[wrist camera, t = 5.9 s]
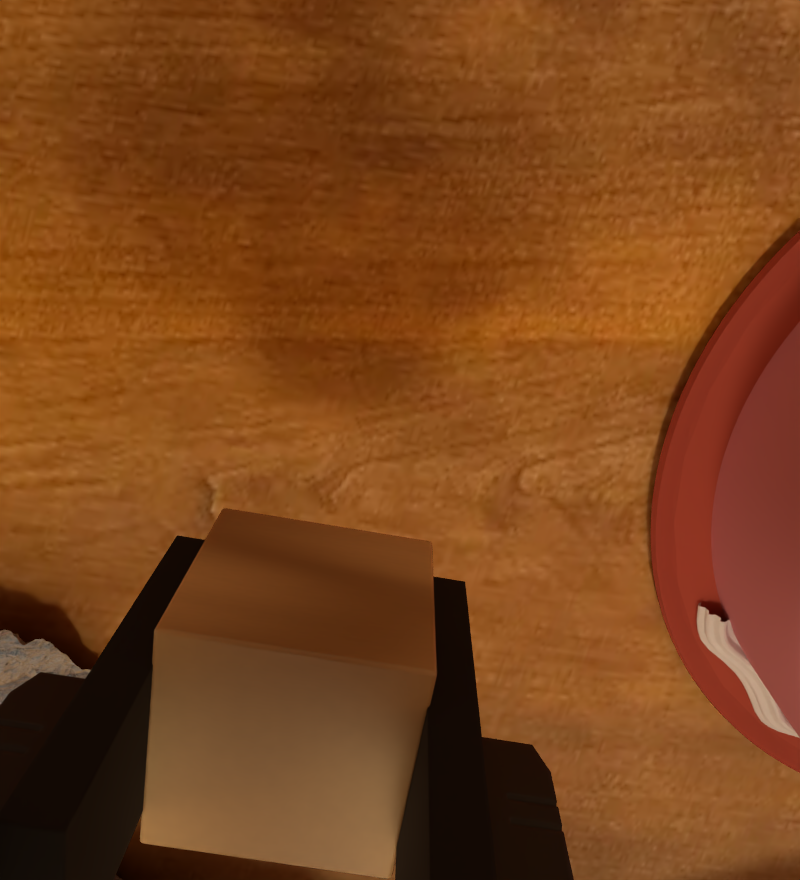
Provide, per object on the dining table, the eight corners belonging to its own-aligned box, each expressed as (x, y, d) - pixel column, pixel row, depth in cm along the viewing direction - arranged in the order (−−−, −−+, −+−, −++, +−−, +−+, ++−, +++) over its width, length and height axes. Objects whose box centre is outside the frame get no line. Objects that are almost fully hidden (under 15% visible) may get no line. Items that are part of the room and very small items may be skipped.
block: (205, 681, 16) (137, 845, 12) (221, 505, 14) (152, 629, 11) (397, 710, 16) (391, 881, 12) (432, 540, 14) (438, 674, 11)
